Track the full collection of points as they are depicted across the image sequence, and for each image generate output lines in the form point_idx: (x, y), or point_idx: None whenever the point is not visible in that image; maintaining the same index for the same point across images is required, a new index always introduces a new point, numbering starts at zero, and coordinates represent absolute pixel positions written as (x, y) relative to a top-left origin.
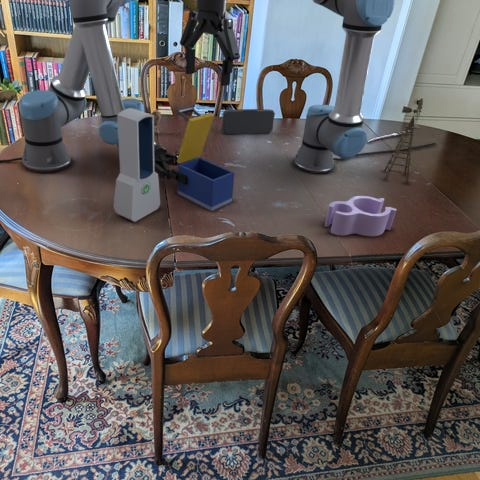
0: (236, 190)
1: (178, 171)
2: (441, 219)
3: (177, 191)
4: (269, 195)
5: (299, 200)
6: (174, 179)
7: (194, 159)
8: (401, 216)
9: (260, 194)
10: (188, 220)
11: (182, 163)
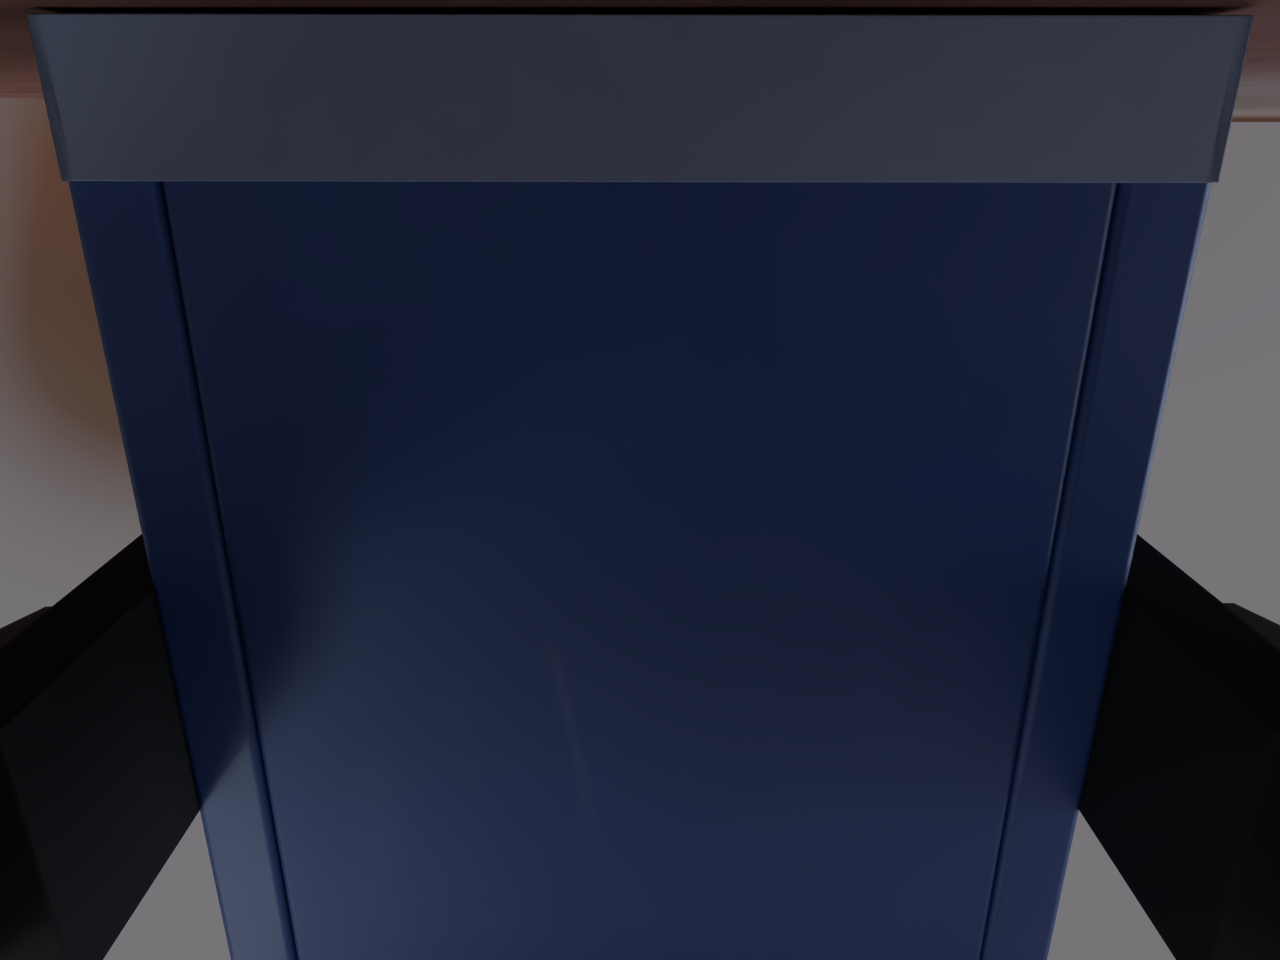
0: (1269, 81)
1: (210, 801)
2: (1272, 120)
3: (48, 114)
4: (1260, 99)
5: (1246, 107)
6: (11, 625)
7: (811, 948)
8: (1238, 118)
9: (1250, 95)
10: (25, 89)
11: (381, 955)
